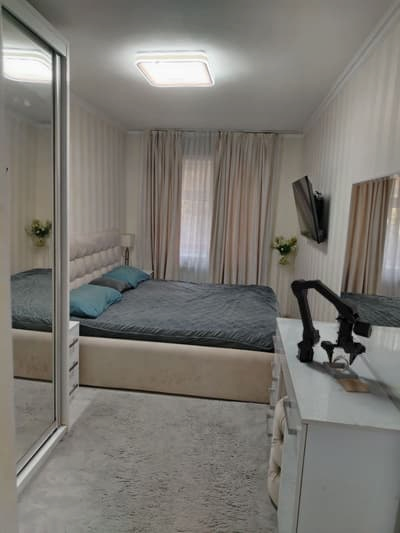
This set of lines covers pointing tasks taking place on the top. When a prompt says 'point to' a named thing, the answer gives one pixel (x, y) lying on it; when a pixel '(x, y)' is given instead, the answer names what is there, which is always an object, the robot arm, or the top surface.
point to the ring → (339, 359)
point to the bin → (340, 375)
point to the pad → (353, 385)
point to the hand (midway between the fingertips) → (340, 364)
